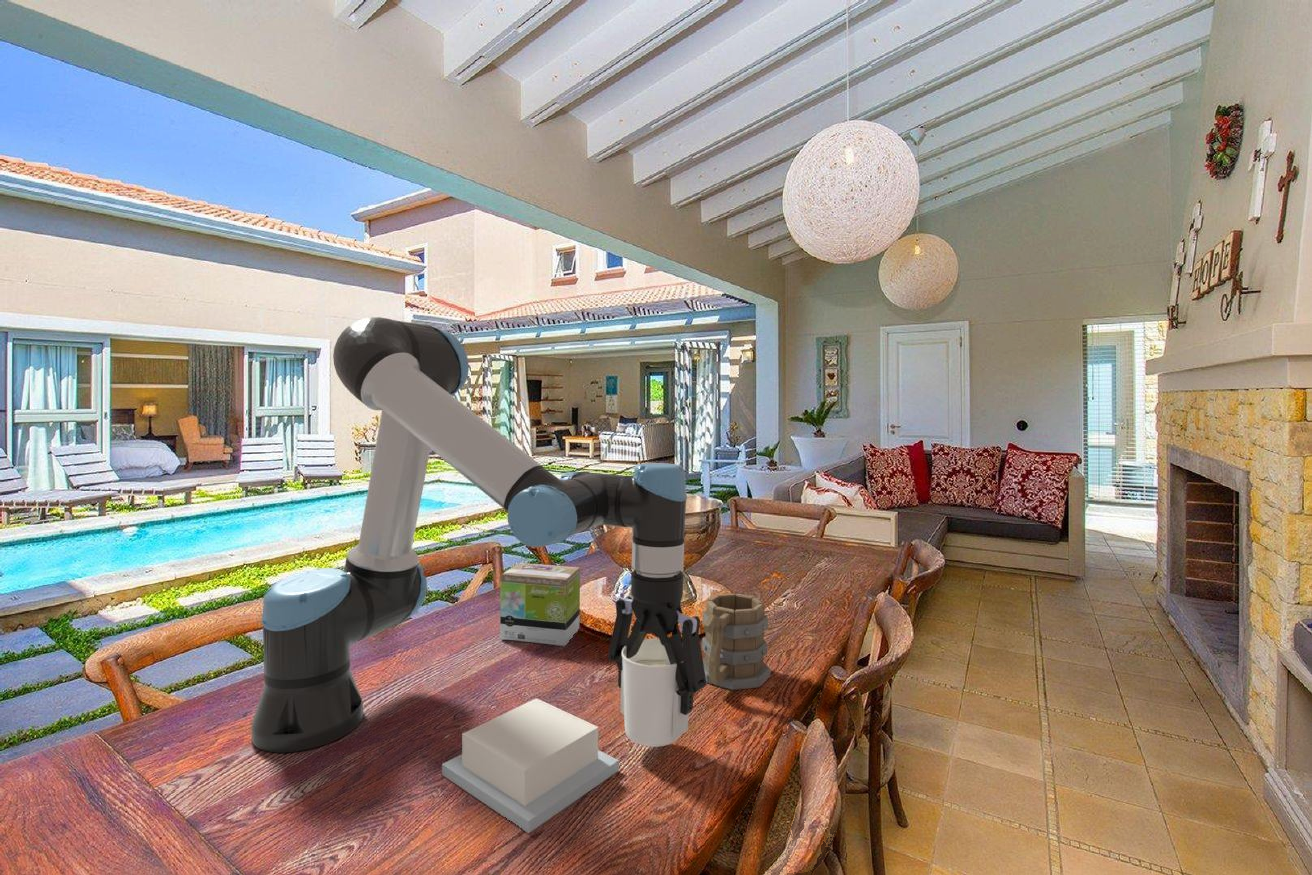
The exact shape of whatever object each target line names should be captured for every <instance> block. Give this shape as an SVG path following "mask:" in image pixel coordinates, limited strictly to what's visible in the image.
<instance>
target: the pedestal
mask: <svg viewBox="0 0 1312 875" xmlns="http://www.w3.org/2000/svg"><path fill="white" fill-rule="evenodd" d="M461 735H462V736H461V738H462V739H461V745H462V746H461V747H462V748H461V749H462V750H461V754H458V756H455V757H453V758H451V759H449V760H448V761H445V762H443V763H441V775H442V776H443V777H445V778H446V779H447V780H449V781H451V782H452V783H454V784H455V785H457V786H458V787H460V788H461V789H462V790H463V791H466V792H467V793H468V794H469V795H471V796H472V797H474V798H475V799H477V800H478V801H480V802H481V803H483V804H484V805H486V806H487V807H489V808H490V809H492V810H493V811H494V812H497V813H498V814H499V815H501V816H502V817H504V818H505V817H506V818H507V819H506V818H505V819H506V820H508V821H509V820H510V821H509V822H511V821H512V822H514V823H515V824H516V826H517V825H518V826H519V827H518V826H517V827H518V828H520V829H521V828H522V830H523V831H524V832H525V833H527V834H530V833H531V832H533V831H534V830H536V829H537V828H539V827H541V826H542V825H543V824H544V823H546V822H547V821H548V820H550V819H552V818H553V817H555V816H556V815H557V814H558V813H560V812H561V811H563V810H564V809H566V808H567V807H569V806H570V805H572V804H574V802H576V801H577V800H579V799H580V798H582V797H583V796H585V795H586V794H587V793H589V792H590V791H591V790H593V789H594V788H596V787H598V786H599V785H600V784H602V783H603V782H604V781H606V780H608V779H609V778H610V777H612V776H613V775H615V774H616V773H618V772H619V771H620V770H619V768H620V767H619V766H620V765H619V764H620V763H619V762H620V761H619V759H618V758H615V757H613V756H611V755H609V754H607V753H605V752H604V751H601V750H599V726H598V725H596V724H593V723H591V722H588V721H586V720H585V719H582V718H580V717H577V716H576V715H573V714H571V713H569V712H567V711H564V710H563V709H560V708H558V707H556V706H554V705H552V704H550V703H547V702H545V701H543V700H541V699H539V698H537V697H536V698H533V699H532V700H529V701H528V702H526V703H523V704H522V705H519V706H517V707H515V708H513V709H511V710H509V711H507V712H505V713H503V714H500V715H499V716H496V717H494V718H492V719H490V720H488V721H486V722H484V723H482V724H480V725H477V726H476V727H473V728H471V729H469V730H468V731H465V732H462V734H461ZM512 822H511V823H512ZM514 823H513V824H514ZM515 824H514V825H515Z"/></svg>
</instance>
